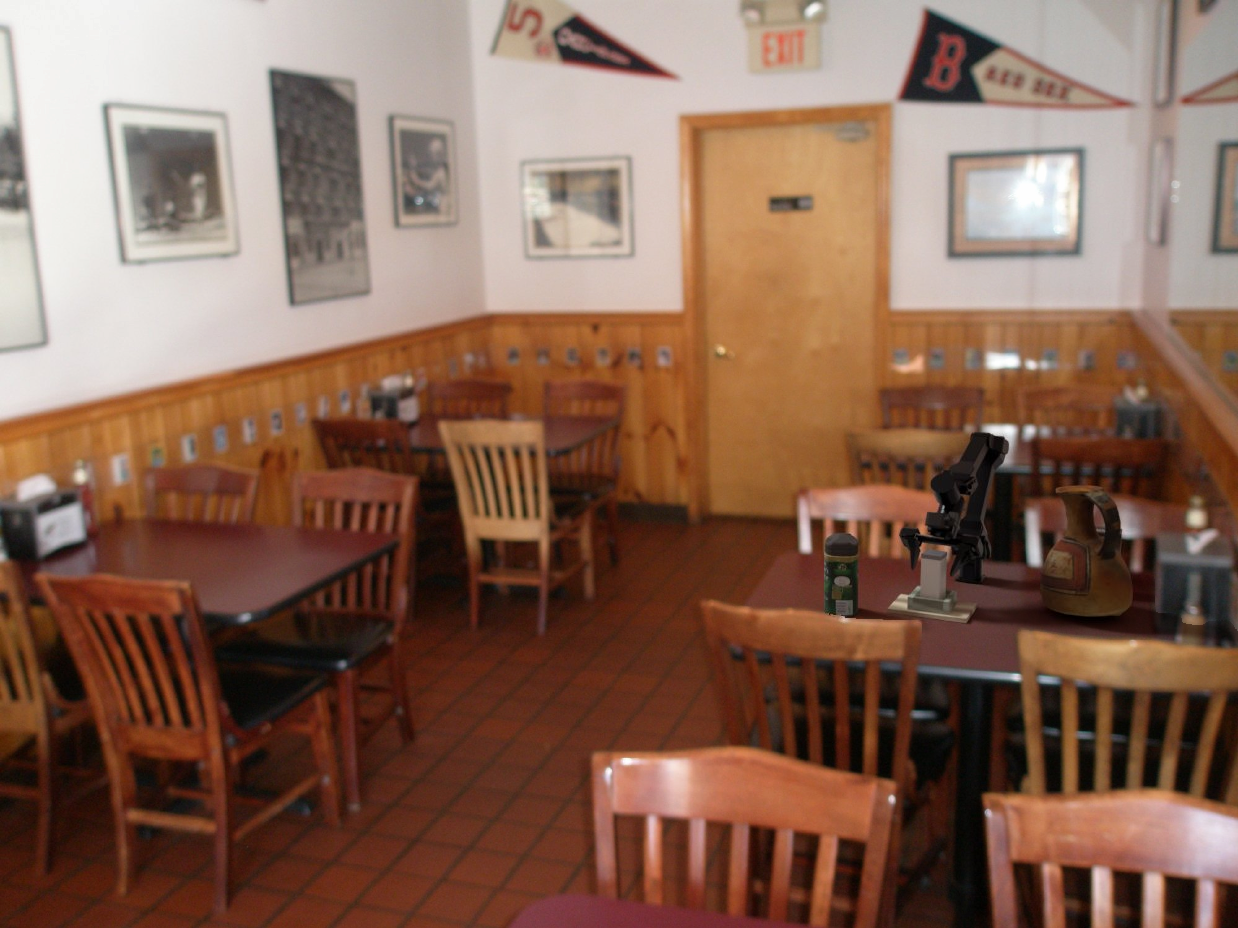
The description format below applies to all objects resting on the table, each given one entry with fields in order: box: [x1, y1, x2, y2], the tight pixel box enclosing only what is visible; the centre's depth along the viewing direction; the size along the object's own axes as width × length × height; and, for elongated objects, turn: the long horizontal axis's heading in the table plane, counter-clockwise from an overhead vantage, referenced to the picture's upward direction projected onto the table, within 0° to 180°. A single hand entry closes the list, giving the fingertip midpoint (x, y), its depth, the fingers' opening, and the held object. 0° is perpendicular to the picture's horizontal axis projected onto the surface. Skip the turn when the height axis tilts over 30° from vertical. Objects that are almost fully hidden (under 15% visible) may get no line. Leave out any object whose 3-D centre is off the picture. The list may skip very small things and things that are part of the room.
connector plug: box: [919, 548, 948, 600], centre depth 266 cm, size 5×5×13 cm
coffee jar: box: [823, 532, 860, 618], centre depth 266 cm, size 10×8×19 cm
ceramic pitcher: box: [1039, 484, 1134, 618], centre depth 260 cm, size 20×20×30 cm
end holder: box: [886, 585, 978, 624], centre depth 267 cm, size 12×18×4 cm, turn 62°
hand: (931, 572), depth 265 cm, fingers open, 9 cm apart
